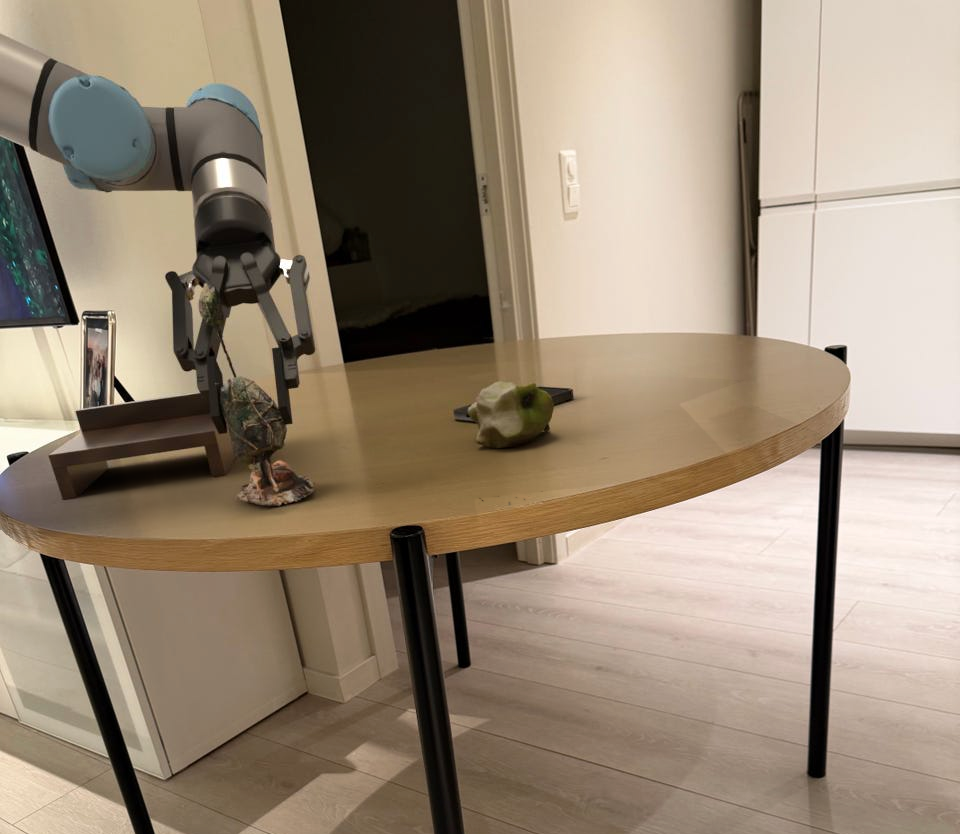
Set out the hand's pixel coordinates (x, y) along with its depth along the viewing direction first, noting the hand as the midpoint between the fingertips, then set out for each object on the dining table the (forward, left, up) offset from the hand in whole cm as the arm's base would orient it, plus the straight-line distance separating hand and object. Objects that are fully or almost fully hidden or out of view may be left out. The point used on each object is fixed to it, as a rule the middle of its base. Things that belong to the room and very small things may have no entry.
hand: (252, 420), depth 80 cm
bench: (-16, +25, -8) cm, 31 cm away
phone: (+28, +31, -9) cm, 42 cm away
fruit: (+25, +13, -9) cm, 29 cm away
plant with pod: (0, +4, -9) cm, 9 cm away
